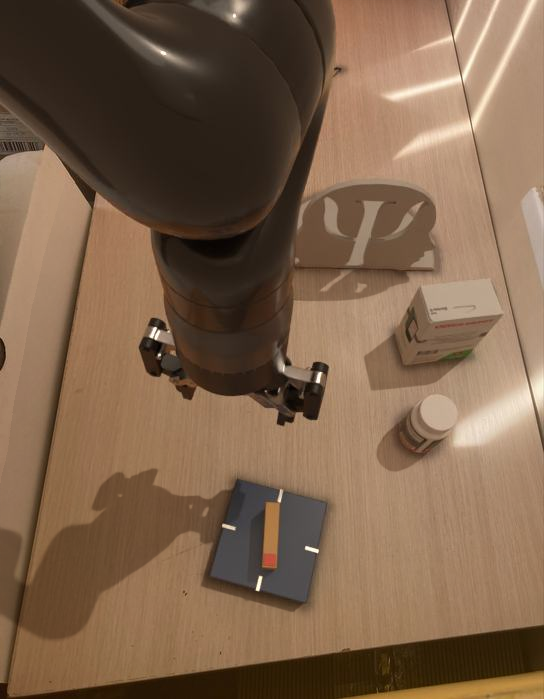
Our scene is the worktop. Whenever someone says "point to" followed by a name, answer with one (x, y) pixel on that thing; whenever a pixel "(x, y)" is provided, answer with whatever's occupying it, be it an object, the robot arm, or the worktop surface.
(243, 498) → the plate
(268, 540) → the orange wooden bar
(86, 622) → the worktop surface
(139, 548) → the worktop surface
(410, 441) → the pill bottle
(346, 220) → the psi symbol sculpture
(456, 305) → the ink box
